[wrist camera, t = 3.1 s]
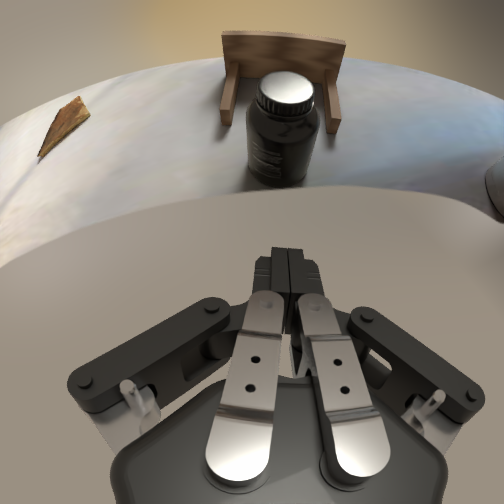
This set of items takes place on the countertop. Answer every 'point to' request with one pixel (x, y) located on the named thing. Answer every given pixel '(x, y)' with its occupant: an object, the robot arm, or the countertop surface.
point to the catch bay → (282, 65)
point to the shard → (64, 123)
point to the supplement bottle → (281, 128)
